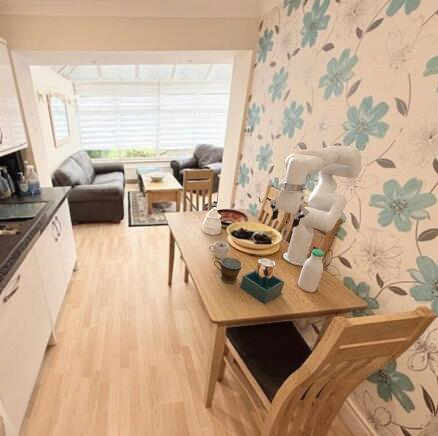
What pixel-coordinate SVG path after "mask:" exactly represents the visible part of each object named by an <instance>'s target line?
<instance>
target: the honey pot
mask: <svg viewBox="0 0 438 436" xmlns="http://www.w3.org/2000/svg"><path fill="white" fill-rule="evenodd" d="M217 209H218V208H217V207H216V206H215V207H212V208H211V209H210V210H209V211H208V212H207V213H206V215H205V217H204V220H203V222H202V228H201V230H202V232H203V233H205V234H207V235H210V236H212V235H213V236H214V235H215V236H216V235H219V234H221V233H222V226H223V225H222V222H221V221H222V220H221V218H222V215H221V214H220V213H219V212H218V210H217Z"/></svg>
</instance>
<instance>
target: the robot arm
mask: <svg viewBox="0 0 438 436" xmlns="http://www.w3.org/2000/svg"><path fill="white" fill-rule="evenodd" d="M284 168H285V169H286V174H285V178H284V182H283V187H281V189H280V190H279V193H278V194H277V197H276V199H271V200H269V204H270V208H271V211H272V215H271V220H272V221H274V220H277V219H278V217H279V213H280V211H283V212H285V213H288V214H291V215H293V216H294V219H293V221H292V226H291V227H292V228H293V230H292V234H291V238H290V241H289V244H288V248H287V252H284V253H283V255H282V257H283V259H284V260H285V261H286V262H287V263H289V264H291V265H294V266H302V267H303V265H304V263H305V262H306V261H307V260H308V259H309V258H308V256H309V255H308V254H310V253H311V252H310V249H311V245H312V242H313V239H314V236H315V232H314V229H317V230H318V231H323V232H330V231H332V230H333V229H334V227H335V225H336V224H337V222H338V221H339V219H340V217H341V216H342V214H343V213H344V211H345V209H346V206H347V203H348V199H347V197H346V196H345V195H342V194H338V193H335V192H336V190H337V189H338V184H337V182H336V179H335V178H334V176H336V177H340V178H341V177H342V178H346V179H347V178H348V179H354V178H356V177H358V176H359V175H360V174H361V171H362V169H363V162H362V155H361V151H360V150H359V149H358V148H357V147H355V146H347V145H346V146H345V145H329V146H326V147H323V148H320V149H309V150H300V151H296V152H292V153H290V154H289V155H288V156H287V157H286V159H285V160H284ZM316 174H318V182H317V185H316V186H315V188H314V189H313V191H312V193H311V194H310V195H309V197H308V199H307V204H308V205H309V206H304V204H305V195H306V193H305V191H307V190H308V187H307V186H305V184H306V179H307V176H308V175H316Z"/></svg>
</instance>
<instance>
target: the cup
mask: <svg viewBox="0 0 438 436" xmlns="http://www.w3.org/2000/svg"><path fill="white" fill-rule="evenodd" d="M211 247H212V248H213V249H211ZM229 248H230V245H229V244H228V242H225V241H221V240H218V241H215V242H214V243H211V244H209V245H208V250H209V252H211V253H213V254H214V257H215V258H217V259H220V260H221V259H222V258H225V257H227V254H228V252H229Z"/></svg>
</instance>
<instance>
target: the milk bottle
mask: <svg viewBox="0 0 438 436" xmlns="http://www.w3.org/2000/svg"><path fill="white" fill-rule="evenodd" d="M310 253H311V254H310V256H309V257H308V258H307V259H308V260H307V261H306V262H305V263H304V265H303V266H302V268H301V271H300V274H299V277H298V280H297V287H298V288H299V289H301V290H303V291H305V292H308V293H314V292H316V291H317V290H318V287H319V284H320V281H321V278H322V275H323V272H324V264H323V258H324V256H325V251H323V250H321V249H317V248H313V249H312V250H311V252H310Z"/></svg>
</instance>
